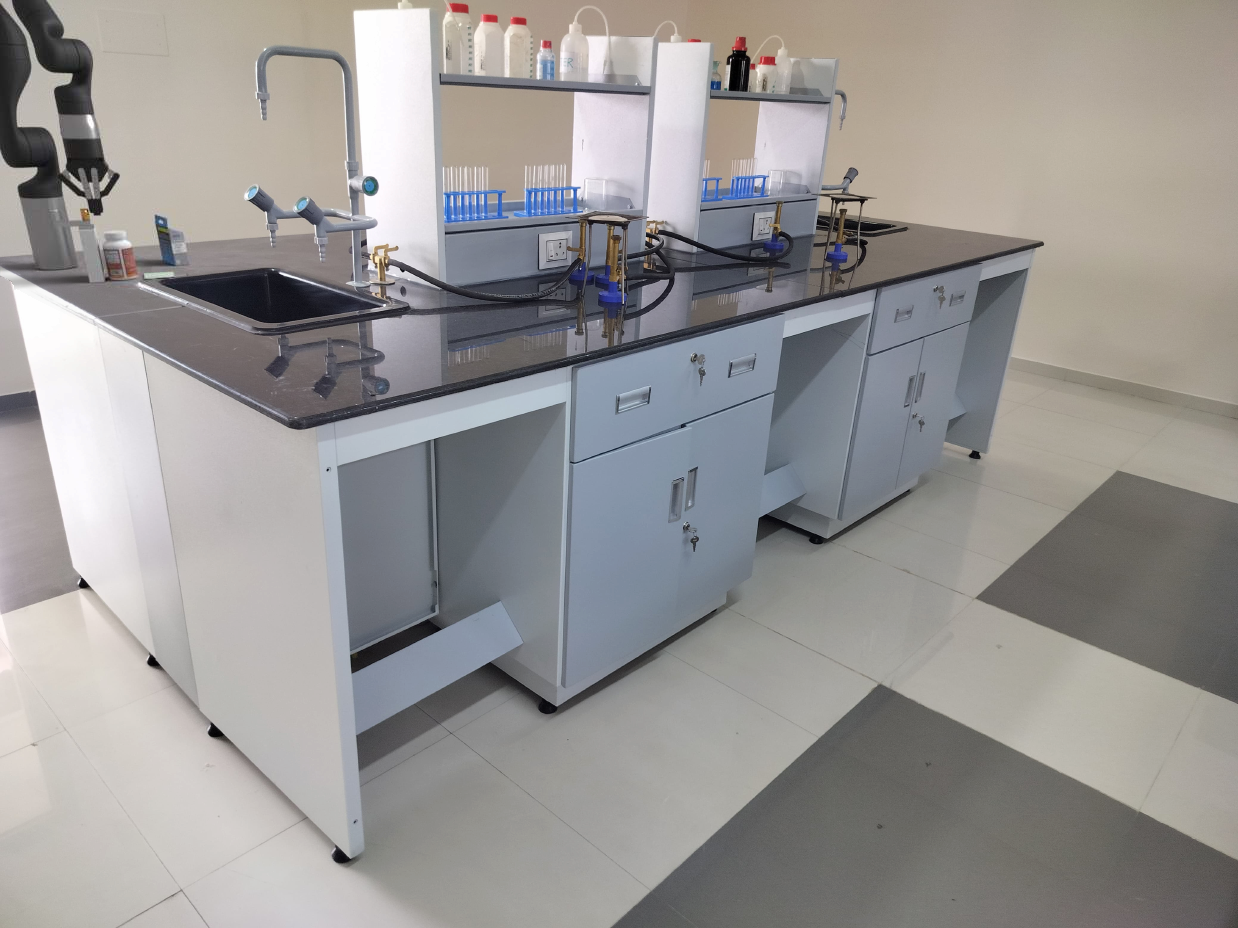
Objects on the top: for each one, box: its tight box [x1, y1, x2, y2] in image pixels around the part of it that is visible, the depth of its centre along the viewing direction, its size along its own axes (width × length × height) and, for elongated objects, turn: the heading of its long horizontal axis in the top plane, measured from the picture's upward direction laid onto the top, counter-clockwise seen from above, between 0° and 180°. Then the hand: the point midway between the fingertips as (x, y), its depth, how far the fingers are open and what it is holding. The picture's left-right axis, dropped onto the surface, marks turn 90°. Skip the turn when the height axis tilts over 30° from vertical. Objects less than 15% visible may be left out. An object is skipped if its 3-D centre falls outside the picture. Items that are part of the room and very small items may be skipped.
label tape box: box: [154, 214, 190, 267], centre depth 226 cm, size 9×4×12 cm, turn 46°
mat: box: [143, 271, 175, 280], centre depth 212 cm, size 6×6×1 cm
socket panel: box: [77, 223, 106, 284], centre depth 205 cm, size 9×3×13 cm, turn 27°
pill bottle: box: [101, 229, 138, 282], centre depth 206 cm, size 6×6×11 cm
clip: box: [55, 208, 92, 228], centre depth 199 cm, size 2×7×4 cm, turn 117°
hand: (97, 215), depth 201 cm, fingers closed
